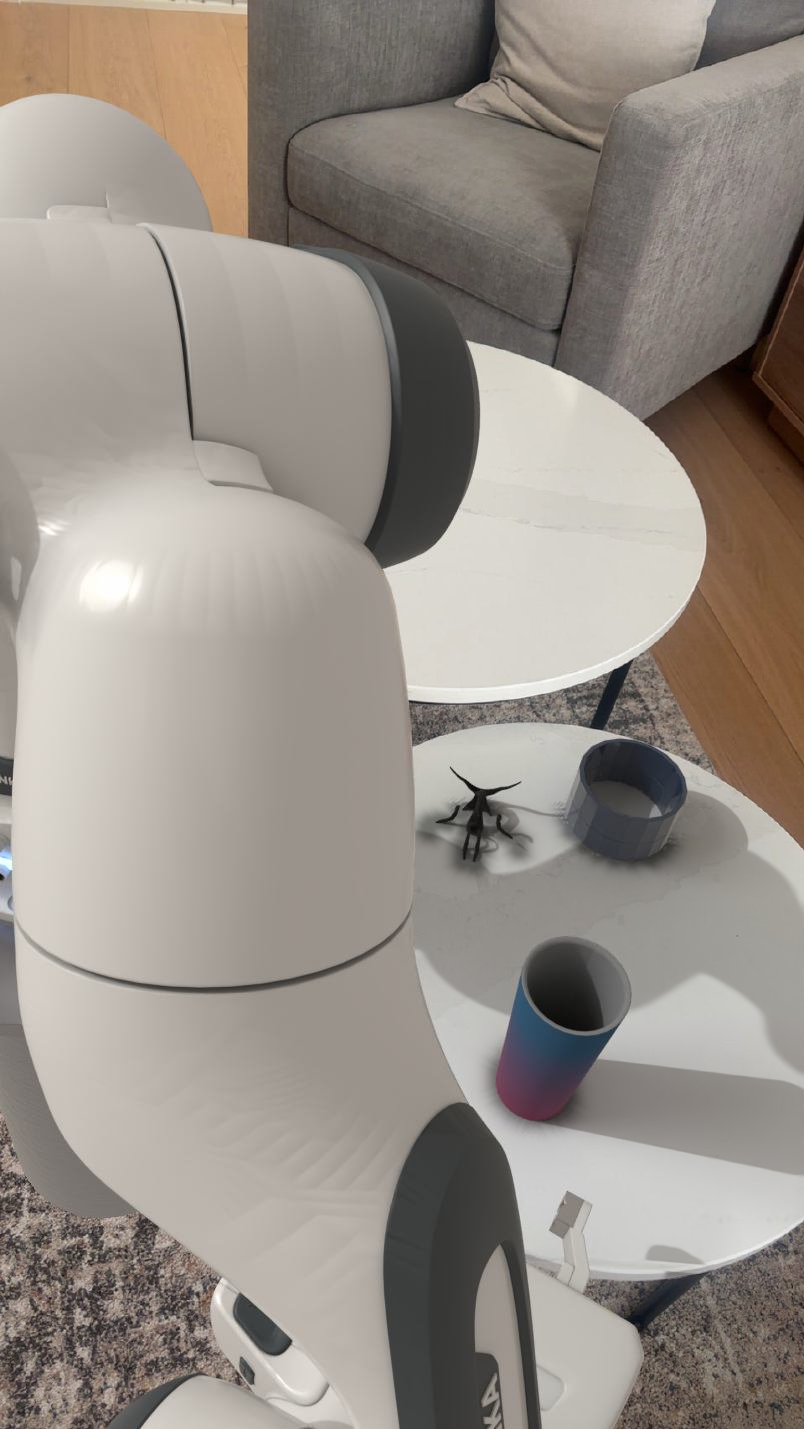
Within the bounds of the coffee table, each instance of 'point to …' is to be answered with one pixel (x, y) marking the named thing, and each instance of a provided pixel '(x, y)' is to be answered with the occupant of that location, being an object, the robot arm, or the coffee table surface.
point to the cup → (559, 1024)
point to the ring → (635, 769)
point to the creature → (477, 813)
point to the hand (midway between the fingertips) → (496, 1154)
